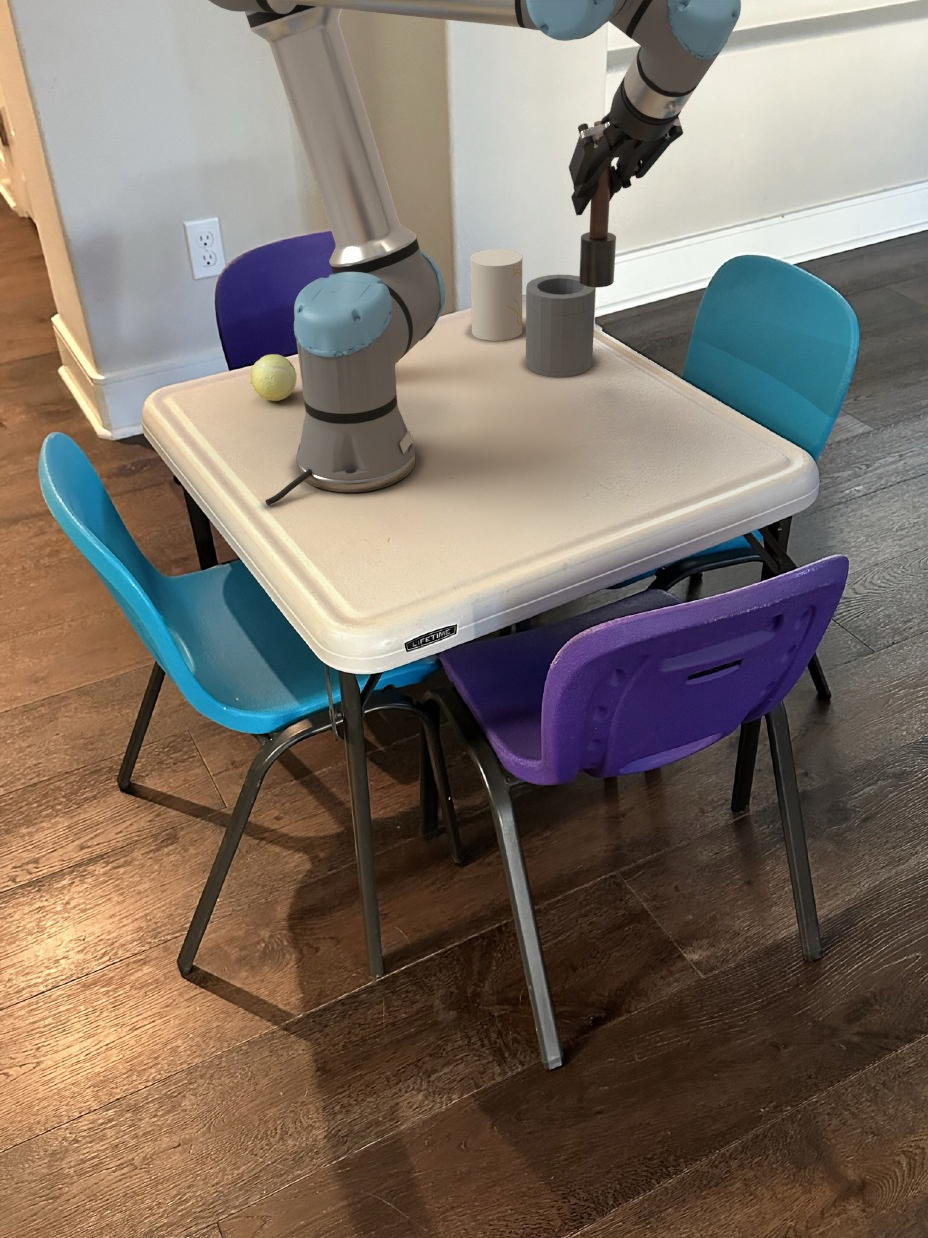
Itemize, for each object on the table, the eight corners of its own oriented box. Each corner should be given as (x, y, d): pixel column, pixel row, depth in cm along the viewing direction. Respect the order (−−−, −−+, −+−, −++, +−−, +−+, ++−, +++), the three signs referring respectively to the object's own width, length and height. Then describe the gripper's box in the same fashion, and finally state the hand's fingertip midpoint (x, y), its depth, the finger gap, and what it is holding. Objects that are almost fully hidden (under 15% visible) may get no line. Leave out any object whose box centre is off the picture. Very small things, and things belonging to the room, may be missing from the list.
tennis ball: (301, 406, 162) (295, 362, 158) (254, 411, 161) (247, 367, 157) (297, 387, 167) (292, 344, 163) (252, 392, 166) (245, 349, 162)
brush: (598, 289, 149) (606, 128, 137) (572, 281, 151) (577, 122, 140) (620, 281, 151) (630, 121, 139) (594, 273, 154) (601, 116, 142)
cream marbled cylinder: (522, 340, 179) (522, 265, 172) (471, 341, 179) (469, 266, 172) (521, 321, 186) (521, 248, 179) (472, 322, 186) (470, 249, 179)
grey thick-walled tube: (562, 382, 166) (564, 303, 159) (512, 364, 171) (512, 287, 164) (605, 362, 171) (609, 284, 164) (556, 345, 177) (557, 269, 170)
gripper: (599, 128, 124) (540, 237, 146) (724, 115, 128) (647, 223, 150) (581, 67, 125) (525, 185, 147) (706, 55, 129) (632, 172, 151)
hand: (587, 204), depth 149 cm, fingers closed on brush, 2 cm apart
